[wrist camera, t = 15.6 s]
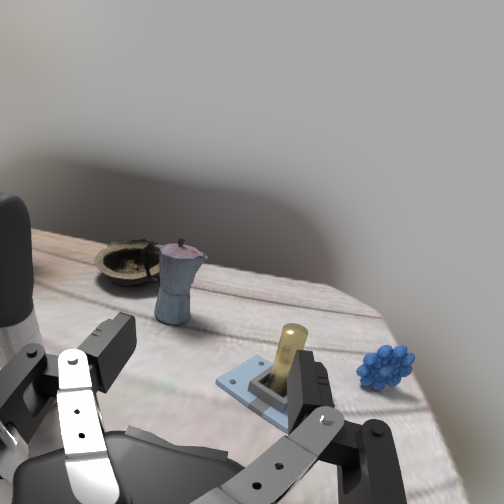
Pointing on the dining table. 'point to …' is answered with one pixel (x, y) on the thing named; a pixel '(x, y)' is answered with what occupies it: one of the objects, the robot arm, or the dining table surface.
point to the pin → (286, 356)
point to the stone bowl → (127, 262)
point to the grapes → (385, 367)
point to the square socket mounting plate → (256, 390)
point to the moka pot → (174, 279)
